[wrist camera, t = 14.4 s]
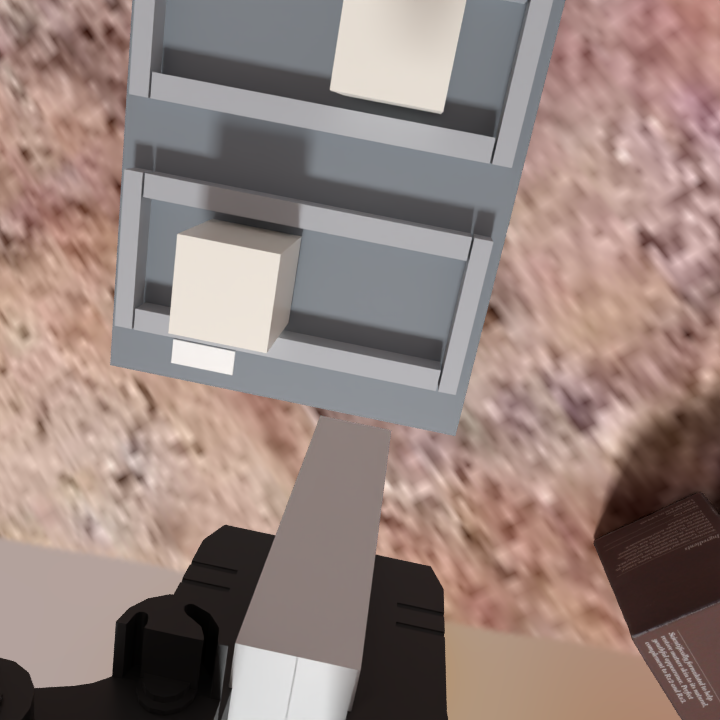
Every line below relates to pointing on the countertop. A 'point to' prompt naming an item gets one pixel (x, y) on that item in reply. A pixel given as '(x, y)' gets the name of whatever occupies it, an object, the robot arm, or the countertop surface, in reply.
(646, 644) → the box
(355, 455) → the robot arm
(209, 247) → the tab
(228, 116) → the grey compartment tray
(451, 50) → the tab
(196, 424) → the countertop surface
